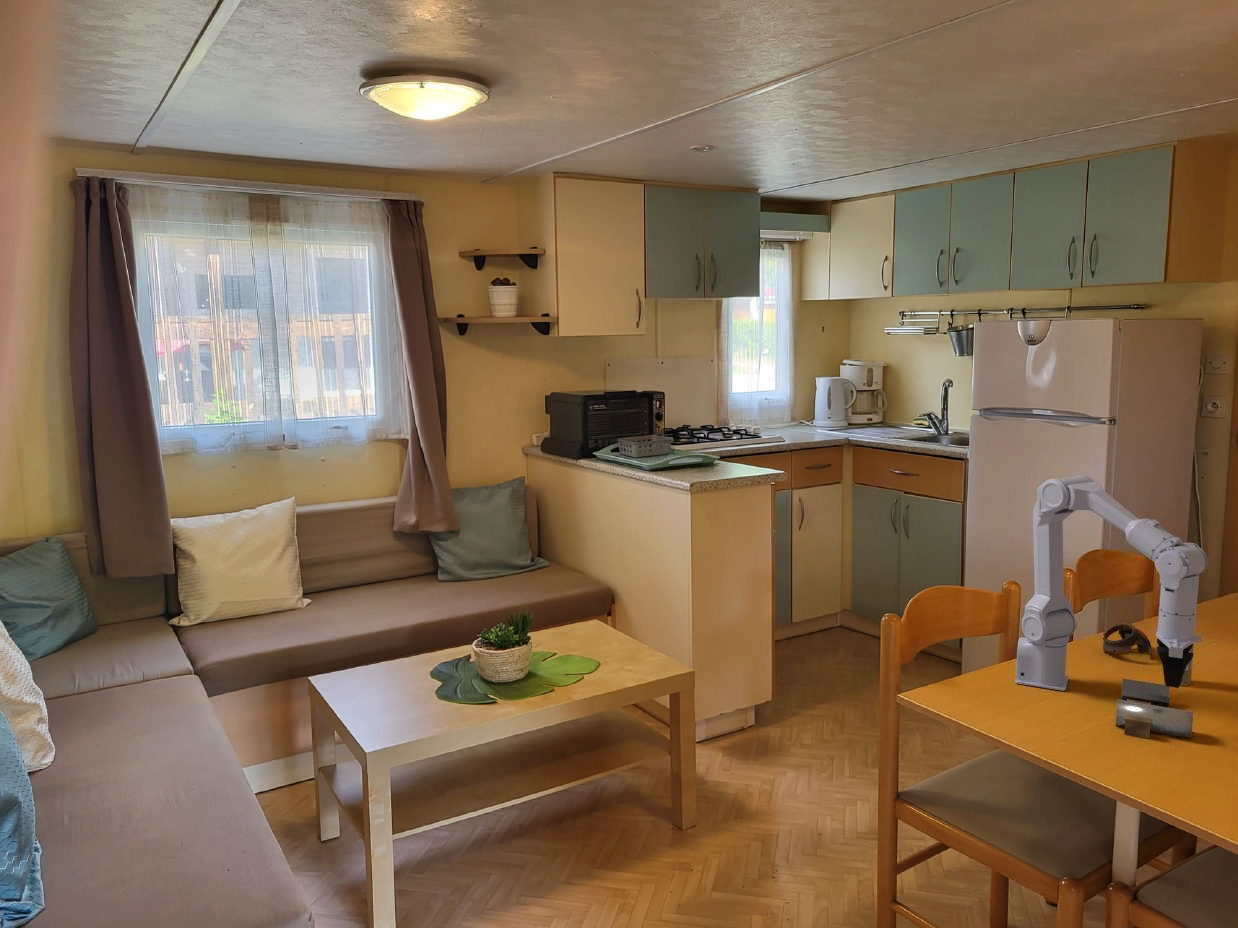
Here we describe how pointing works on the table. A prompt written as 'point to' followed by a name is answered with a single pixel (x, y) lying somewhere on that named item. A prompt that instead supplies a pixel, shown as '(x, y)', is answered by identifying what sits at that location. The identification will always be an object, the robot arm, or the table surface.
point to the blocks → (1137, 724)
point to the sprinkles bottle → (1188, 670)
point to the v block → (1145, 692)
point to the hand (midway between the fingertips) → (1172, 682)
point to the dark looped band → (1126, 639)
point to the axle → (1157, 718)
